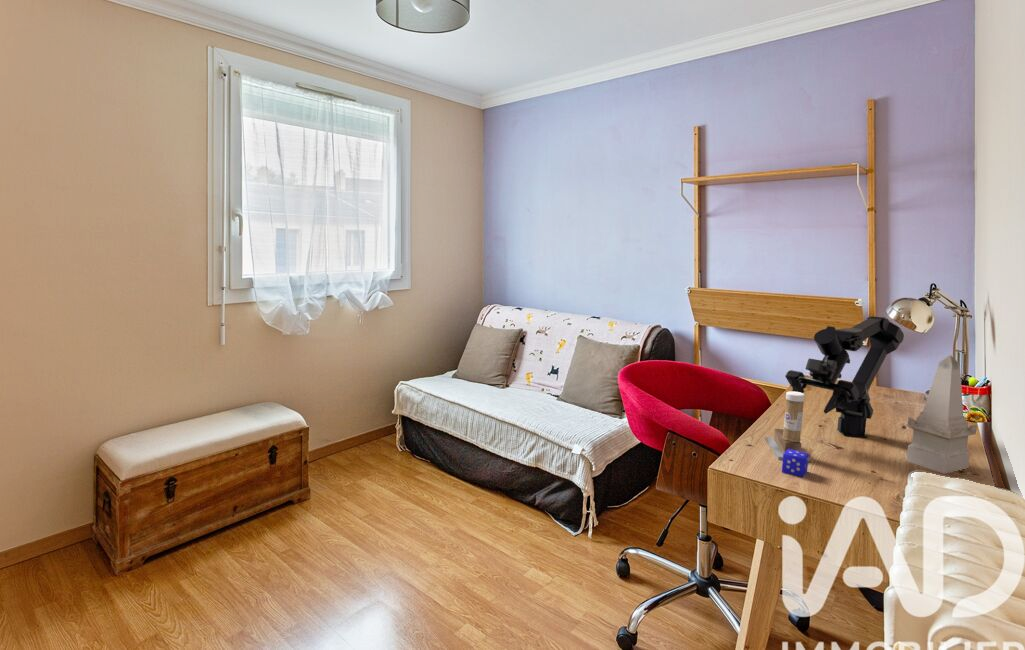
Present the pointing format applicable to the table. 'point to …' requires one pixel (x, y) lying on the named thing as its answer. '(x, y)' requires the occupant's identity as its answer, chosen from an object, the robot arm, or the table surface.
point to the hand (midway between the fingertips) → (808, 408)
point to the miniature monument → (942, 424)
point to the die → (795, 462)
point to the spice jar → (793, 416)
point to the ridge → (782, 444)
